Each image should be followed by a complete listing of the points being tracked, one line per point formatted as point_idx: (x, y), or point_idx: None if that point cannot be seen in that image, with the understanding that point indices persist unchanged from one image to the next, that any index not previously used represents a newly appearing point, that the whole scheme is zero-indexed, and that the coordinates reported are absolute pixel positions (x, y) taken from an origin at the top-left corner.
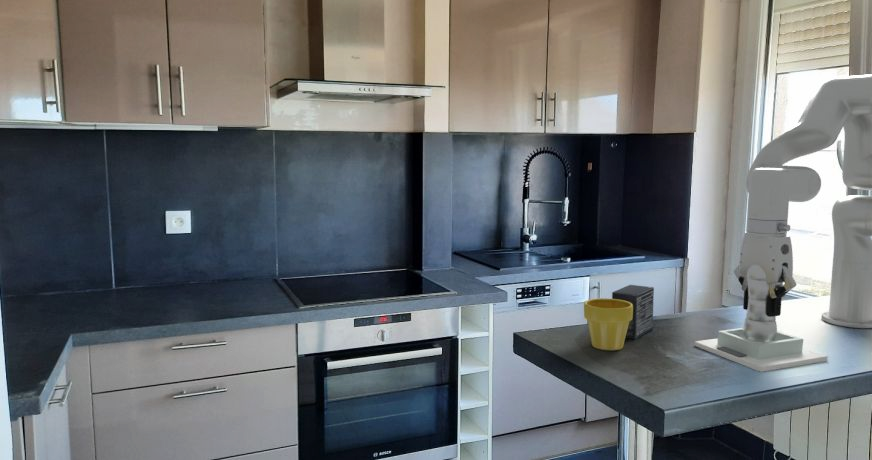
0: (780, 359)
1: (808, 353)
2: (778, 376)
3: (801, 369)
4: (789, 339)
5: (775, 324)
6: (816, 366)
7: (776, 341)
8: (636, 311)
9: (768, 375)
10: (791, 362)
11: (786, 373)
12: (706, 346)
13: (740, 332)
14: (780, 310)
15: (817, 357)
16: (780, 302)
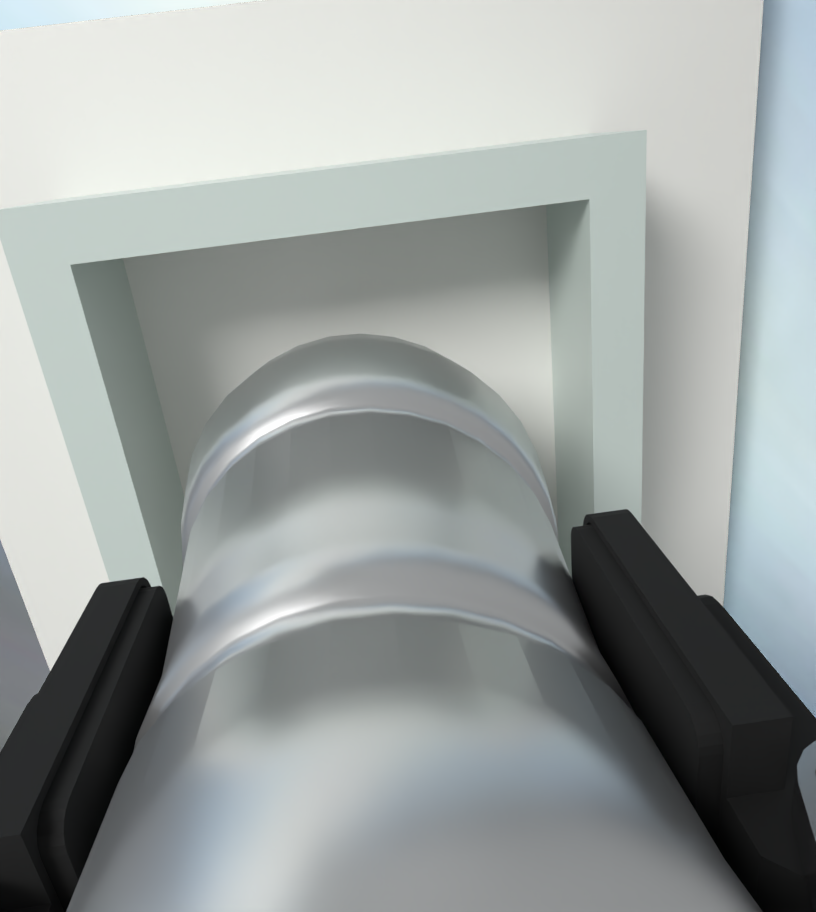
0: (656, 465)
1: (628, 81)
2: (803, 614)
3: (784, 377)
4: (606, 310)
5: (538, 477)
6: (792, 202)
7: (608, 486)
8: None
9: (763, 655)
10: (732, 424)
11: (790, 534)
12: None
13: (158, 535)
14: (719, 607)
15: (750, 99)
16: (794, 713)
